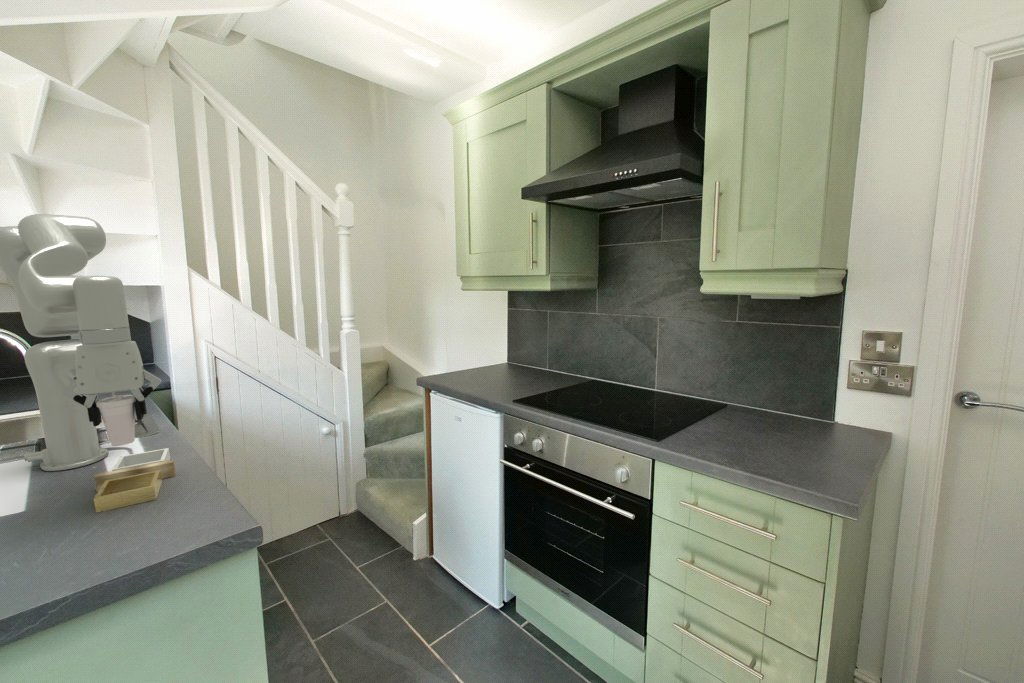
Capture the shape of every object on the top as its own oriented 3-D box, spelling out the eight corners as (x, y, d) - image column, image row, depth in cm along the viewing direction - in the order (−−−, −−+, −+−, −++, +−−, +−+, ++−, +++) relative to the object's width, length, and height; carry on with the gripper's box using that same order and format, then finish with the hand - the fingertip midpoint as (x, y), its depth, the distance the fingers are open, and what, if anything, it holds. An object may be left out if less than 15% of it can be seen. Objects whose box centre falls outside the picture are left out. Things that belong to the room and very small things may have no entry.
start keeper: (113, 482, 103) (111, 470, 103) (122, 467, 111) (120, 456, 111) (165, 472, 108) (163, 460, 108) (170, 458, 116) (168, 447, 116)
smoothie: (95, 450, 90) (84, 383, 88) (114, 439, 96) (103, 376, 94) (132, 446, 92) (122, 380, 90) (148, 435, 98) (139, 374, 96)
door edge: (96, 492, 98) (94, 477, 98) (98, 488, 100) (96, 473, 99) (174, 476, 106) (173, 462, 105) (175, 473, 107) (174, 459, 107)
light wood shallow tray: (95, 512, 90) (93, 498, 89) (107, 493, 98) (105, 480, 97) (156, 499, 95) (154, 486, 94) (162, 482, 103) (160, 469, 102)
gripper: (40, 343, 83) (57, 434, 86) (157, 335, 92) (168, 418, 95) (54, 338, 89) (69, 424, 92) (162, 331, 99) (172, 409, 101)
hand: (119, 420), depth 93 cm, fingers closed on smoothie, 6 cm apart
